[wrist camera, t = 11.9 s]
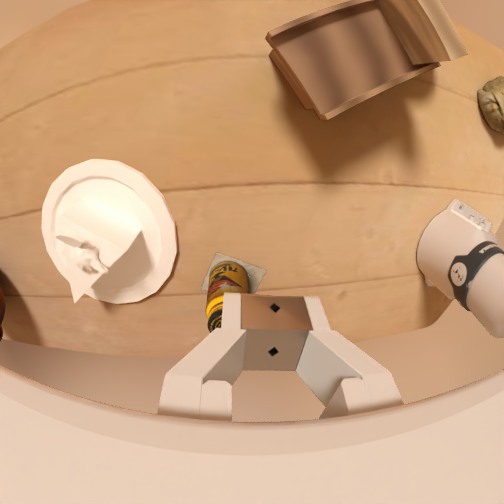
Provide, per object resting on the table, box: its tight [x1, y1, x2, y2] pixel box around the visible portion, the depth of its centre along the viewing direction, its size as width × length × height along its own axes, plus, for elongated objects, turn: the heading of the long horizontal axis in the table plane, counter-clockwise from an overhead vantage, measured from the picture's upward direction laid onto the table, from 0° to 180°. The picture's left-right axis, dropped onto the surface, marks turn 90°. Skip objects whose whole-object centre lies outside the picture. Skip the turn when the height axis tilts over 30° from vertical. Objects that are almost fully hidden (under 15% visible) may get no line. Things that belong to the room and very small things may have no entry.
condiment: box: [201, 253, 267, 333], centre depth 39 cm, size 7×8×12 cm
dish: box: [42, 159, 178, 304], centre depth 34 cm, size 25×25×11 cm
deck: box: [265, 0, 441, 120], centre depth 24 cm, size 18×11×10 cm, turn 123°
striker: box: [374, 0, 468, 65], centre depth 16 cm, size 4×9×7 cm, turn 33°
